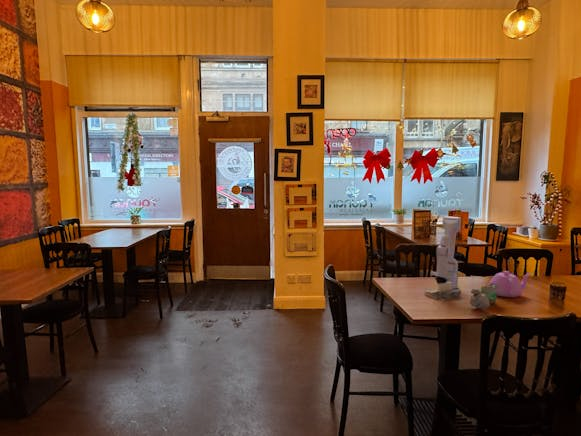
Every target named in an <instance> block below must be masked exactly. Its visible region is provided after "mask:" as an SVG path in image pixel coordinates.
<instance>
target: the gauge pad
mask: <svg viewBox="0 0 581 436" xmlns="http://www.w3.org/2000/svg"><path fill="white" fill-rule="evenodd" d="M450 290H453V289H452V282H446V283H440V284H437V291H438V292H433V294H435V293H439V294H441V293H442V292H444V291H450Z"/></svg>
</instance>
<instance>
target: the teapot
mask: <svg viewBox="0 0 581 436" xmlns="http://www.w3.org/2000/svg"><path fill="white" fill-rule="evenodd" d="M531 275H532V273H526V274H524V275H523V278H522V281H521V282H520V280H519V278H518V276H516V275H515V274H512V273H511V272H510V271H508V270H503V271H501V272H498V273H496V274H495V275H494V276H493V277H492V278H491V280H490V281H489V284H488V285H491V283H493V284H496V285H498V288H499V291H497V296H499V297H503V298H504V297H505V298H516V297H519V296H520V295H521V294H522V293H523V290H525V288H526V287H527V284H528V278H529V276H531Z"/></svg>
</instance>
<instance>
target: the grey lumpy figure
mask: <svg viewBox="0 0 581 436" xmlns="http://www.w3.org/2000/svg"><path fill="white" fill-rule="evenodd" d="M470 294H471V296H470V300H469V304H470V305H471V306H472V307H474V308H477V309H479V310H485V309H487V308H489V307H490V306H491V305H490V304H489V299H488V297H487V296H486V295H485V294H482V290H481V289H479V288H477V287H476V288H472V289H471V290H470Z"/></svg>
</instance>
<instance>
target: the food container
mask: <svg viewBox="0 0 581 436" xmlns="http://www.w3.org/2000/svg"><path fill="white" fill-rule="evenodd" d="M480 291H481V292H482V294H485V295H486V296H487V297H488V299H489V304H490V306H494V305H495V306H496V302H497V296H498V295H497V291H499V288H498V285H496V284H493V283H491V285H489V284H488V285H485V286H481V288H480Z"/></svg>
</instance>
